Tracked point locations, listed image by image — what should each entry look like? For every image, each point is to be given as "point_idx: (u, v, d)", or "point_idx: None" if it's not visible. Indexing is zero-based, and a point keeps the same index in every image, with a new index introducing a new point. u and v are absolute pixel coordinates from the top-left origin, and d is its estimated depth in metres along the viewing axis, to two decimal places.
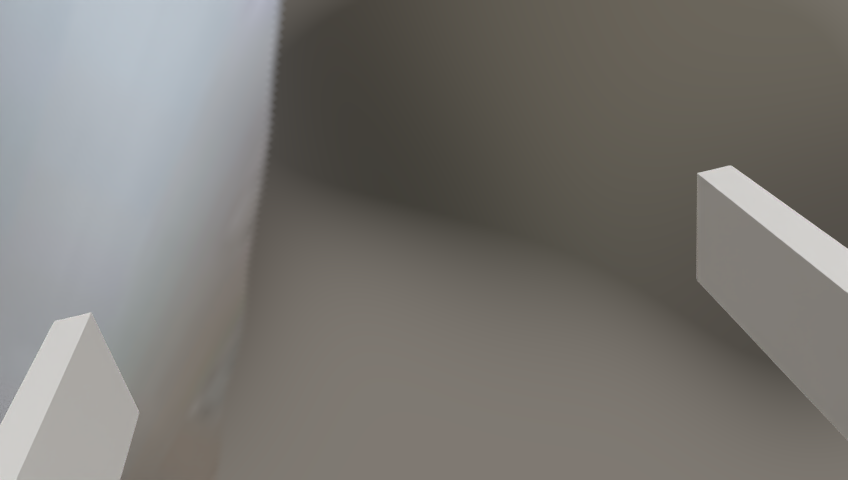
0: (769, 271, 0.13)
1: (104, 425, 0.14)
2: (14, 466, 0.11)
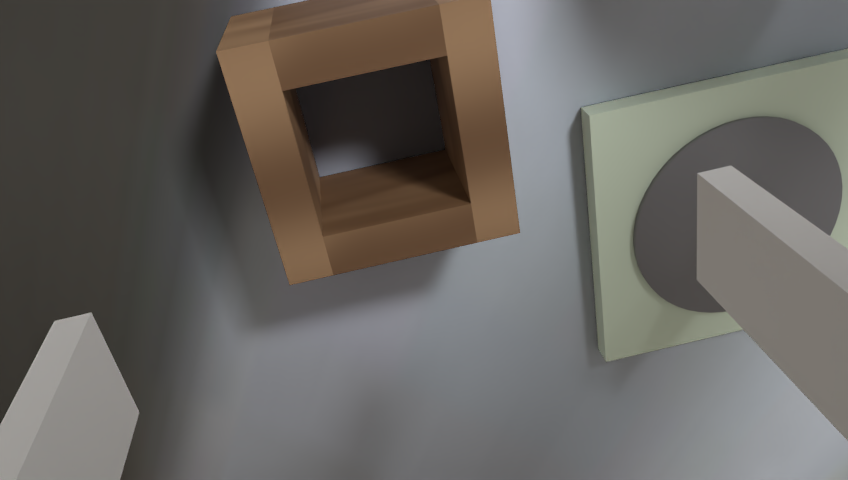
0: (768, 270, 0.13)
1: (104, 425, 0.14)
2: (14, 466, 0.11)
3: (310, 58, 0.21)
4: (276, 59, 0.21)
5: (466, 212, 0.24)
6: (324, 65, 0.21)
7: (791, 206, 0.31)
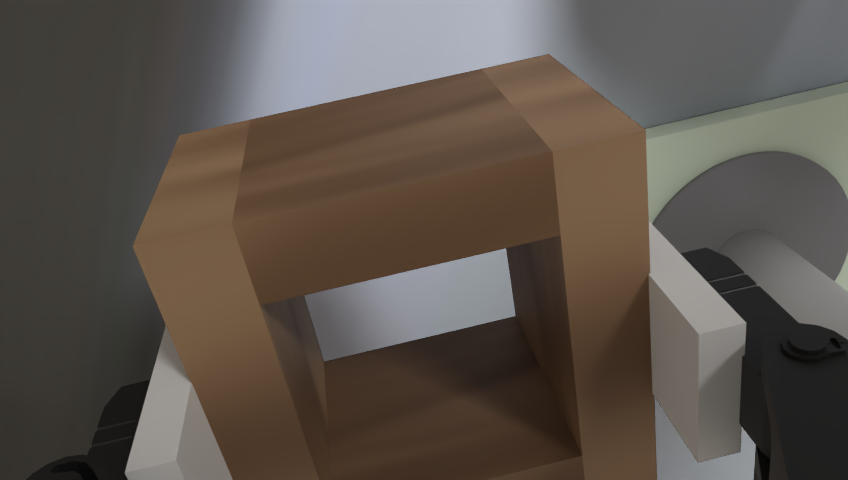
0: None
1: None
2: None
3: (312, 250, 0.11)
4: (248, 254, 0.11)
5: (573, 468, 0.15)
6: (337, 260, 0.12)
7: (799, 243, 0.29)
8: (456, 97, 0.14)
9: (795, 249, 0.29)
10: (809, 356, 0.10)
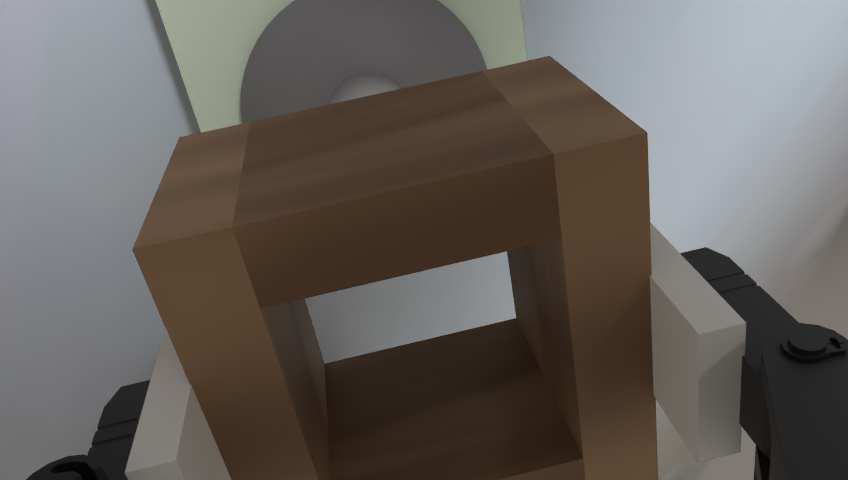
0: None
1: None
2: None
3: (312, 254, 0.11)
4: (248, 257, 0.11)
5: (574, 471, 0.14)
6: (338, 263, 0.12)
7: None
8: (457, 99, 0.14)
9: None
10: (809, 356, 0.10)
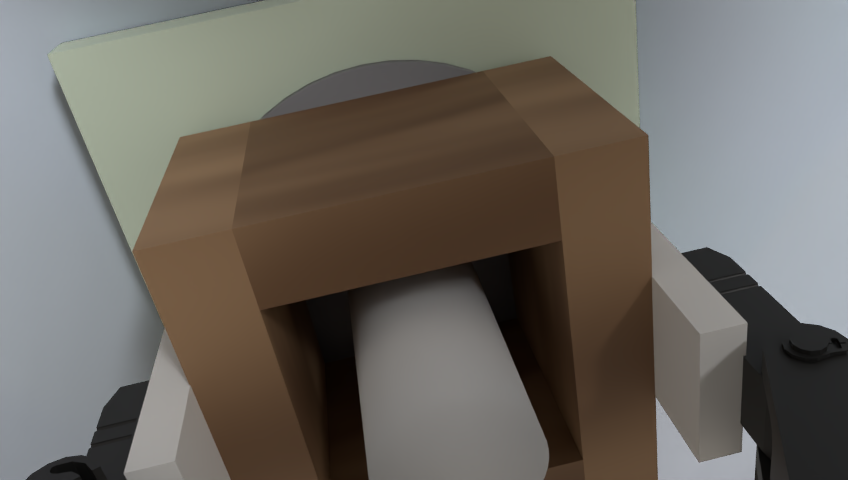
0: None
1: None
2: None
3: (313, 256, 0.11)
4: (248, 259, 0.11)
5: (574, 472, 0.14)
6: (338, 265, 0.12)
7: None
8: (458, 100, 0.14)
9: None
10: (810, 356, 0.10)
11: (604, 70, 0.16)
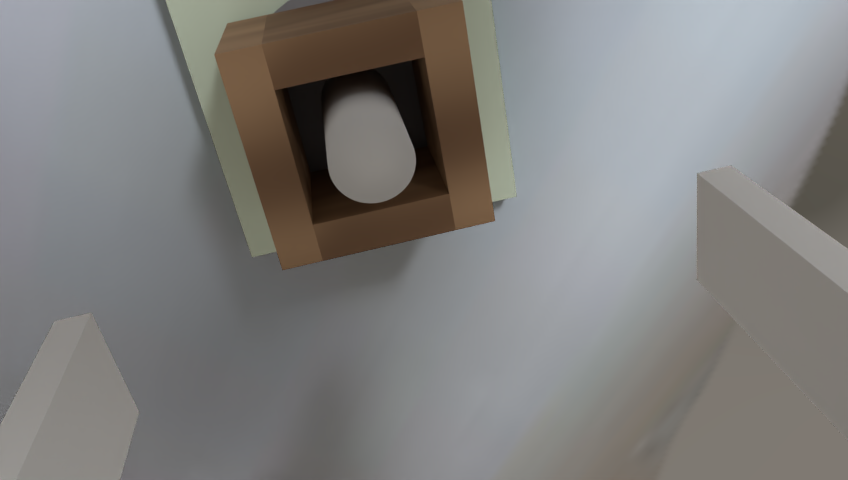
0: (769, 270, 0.13)
1: (104, 425, 0.14)
2: (14, 466, 0.11)
3: (300, 60, 0.23)
4: (269, 61, 0.23)
5: (445, 201, 0.27)
6: (312, 66, 0.24)
7: (410, 83, 0.29)
8: None
9: (407, 89, 0.30)
10: None
11: None
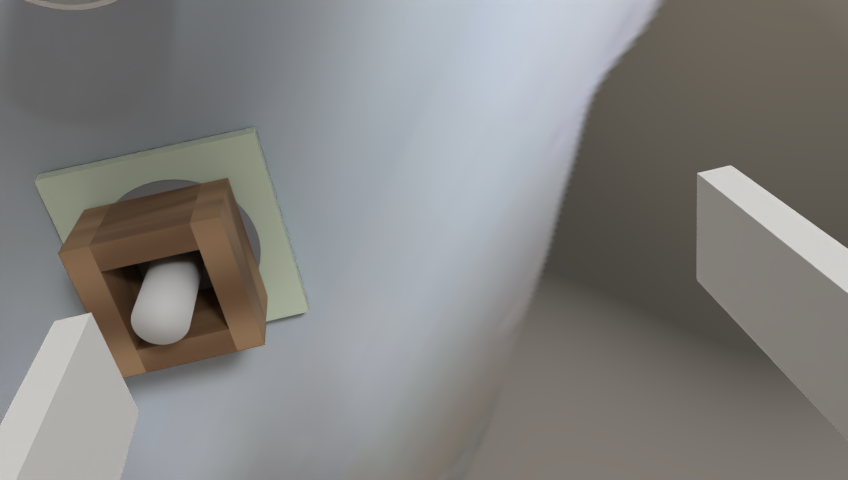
0: (769, 271, 0.13)
1: (104, 425, 0.14)
2: (14, 466, 0.11)
3: (115, 254, 0.36)
4: (94, 255, 0.36)
5: (227, 334, 0.39)
6: (124, 257, 0.37)
7: None
8: (182, 198, 0.39)
9: None
10: None
11: (254, 181, 0.41)
